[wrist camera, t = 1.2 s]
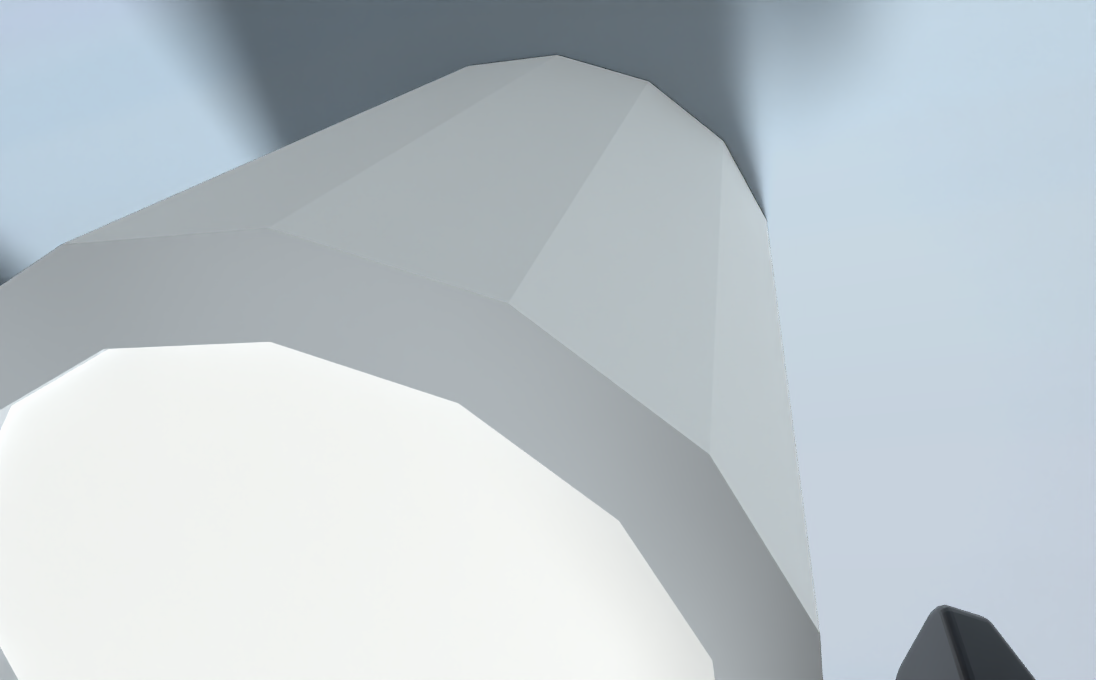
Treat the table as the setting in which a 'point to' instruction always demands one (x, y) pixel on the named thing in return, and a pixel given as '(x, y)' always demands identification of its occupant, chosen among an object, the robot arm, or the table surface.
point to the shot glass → (415, 409)
